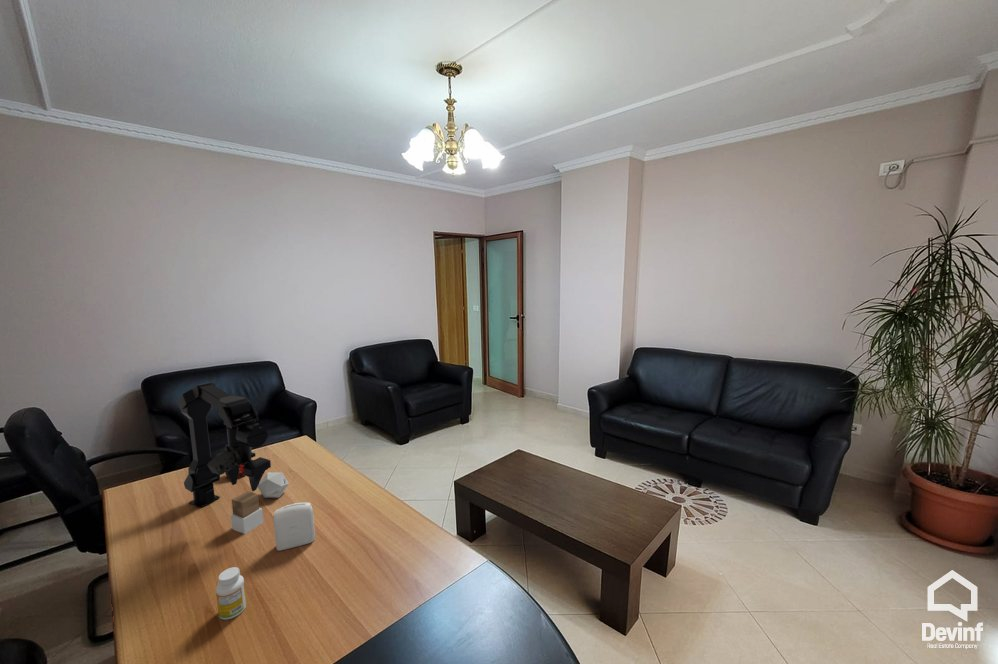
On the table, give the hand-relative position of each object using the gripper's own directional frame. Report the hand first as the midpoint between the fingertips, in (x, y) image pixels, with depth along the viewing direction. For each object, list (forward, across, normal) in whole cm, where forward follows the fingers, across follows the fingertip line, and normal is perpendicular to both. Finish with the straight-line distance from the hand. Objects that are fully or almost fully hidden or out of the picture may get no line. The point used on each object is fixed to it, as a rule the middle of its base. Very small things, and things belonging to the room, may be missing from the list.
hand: (244, 487), depth 118 cm
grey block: (+13, 0, 0) cm, 13 cm away
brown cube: (+8, 0, 0) cm, 8 cm away
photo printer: (+13, +21, 0) cm, 25 cm away
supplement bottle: (+13, +27, -22) cm, 37 cm away
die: (+13, -8, +15) cm, 21 cm away
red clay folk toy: (+13, -34, +19) cm, 41 cm away
